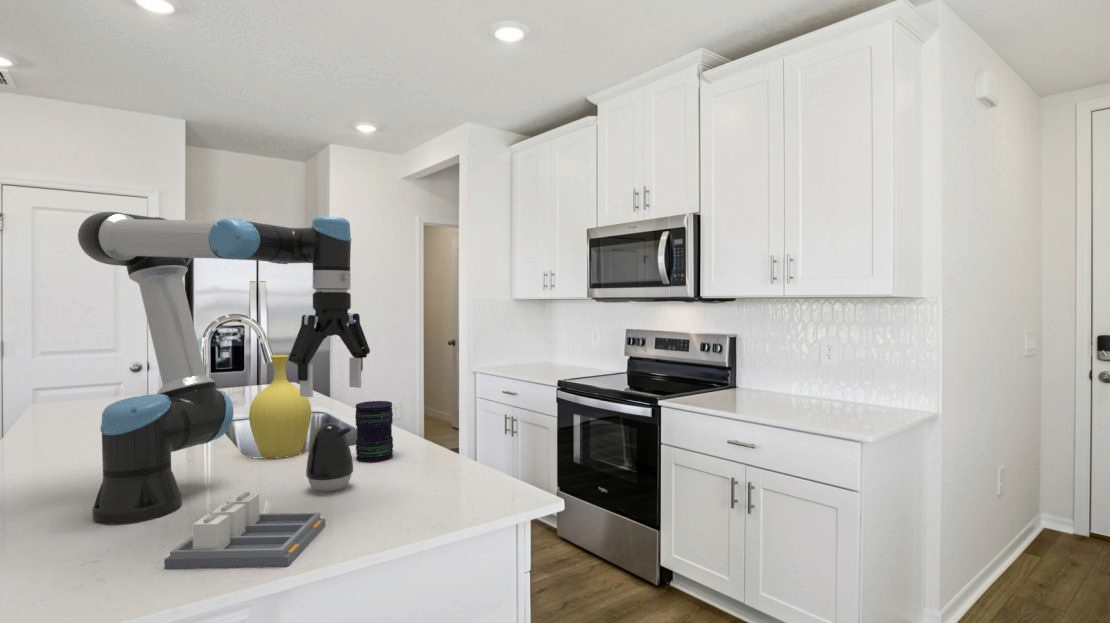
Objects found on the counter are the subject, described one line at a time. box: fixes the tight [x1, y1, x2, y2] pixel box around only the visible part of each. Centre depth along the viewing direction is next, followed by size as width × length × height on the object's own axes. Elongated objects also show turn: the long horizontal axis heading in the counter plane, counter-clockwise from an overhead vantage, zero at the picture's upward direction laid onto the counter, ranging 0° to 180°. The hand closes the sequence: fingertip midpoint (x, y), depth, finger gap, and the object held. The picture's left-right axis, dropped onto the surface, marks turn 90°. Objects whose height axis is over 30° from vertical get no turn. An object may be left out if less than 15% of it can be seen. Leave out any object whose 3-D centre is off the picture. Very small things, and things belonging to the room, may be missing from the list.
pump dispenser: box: [305, 422, 354, 493], centre depth 137 cm, size 10×10×15 cm
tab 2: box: [210, 502, 246, 536], centre depth 105 cm, size 4×4×6 cm
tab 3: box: [226, 491, 261, 524], centre depth 111 cm, size 4×4×6 cm
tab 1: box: [191, 513, 230, 550], centre depth 100 cm, size 4×4×6 cm
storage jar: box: [354, 400, 394, 464], centre depth 163 cm, size 10×10×15 cm
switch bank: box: [163, 512, 326, 569], centre depth 106 cm, size 20×17×3 cm
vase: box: [248, 354, 312, 459], centre depth 168 cm, size 16×16×28 cm
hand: (332, 391), depth 125 cm, fingers open, 13 cm apart
